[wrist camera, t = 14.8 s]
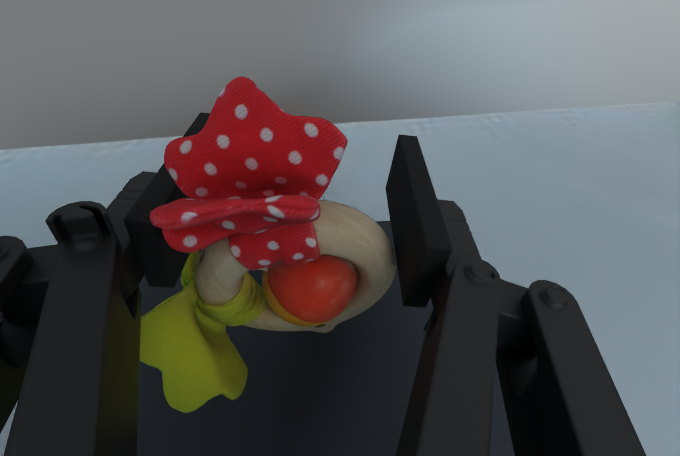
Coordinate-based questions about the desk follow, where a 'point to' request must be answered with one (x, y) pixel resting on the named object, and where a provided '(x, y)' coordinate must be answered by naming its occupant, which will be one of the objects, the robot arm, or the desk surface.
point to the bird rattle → (256, 243)
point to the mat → (304, 388)
